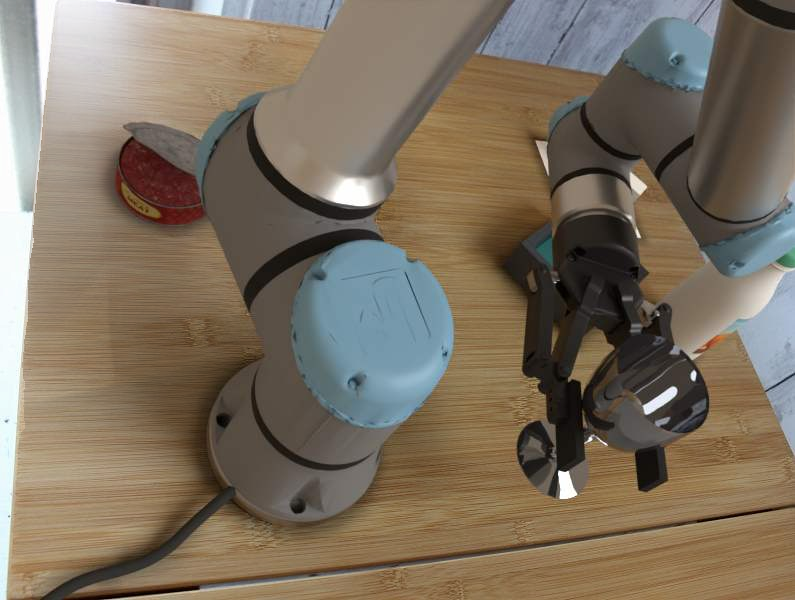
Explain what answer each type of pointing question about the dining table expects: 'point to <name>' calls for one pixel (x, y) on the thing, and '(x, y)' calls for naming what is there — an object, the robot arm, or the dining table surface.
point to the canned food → (159, 174)
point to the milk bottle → (720, 303)
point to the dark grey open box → (541, 252)
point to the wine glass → (622, 411)
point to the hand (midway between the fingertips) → (612, 475)
